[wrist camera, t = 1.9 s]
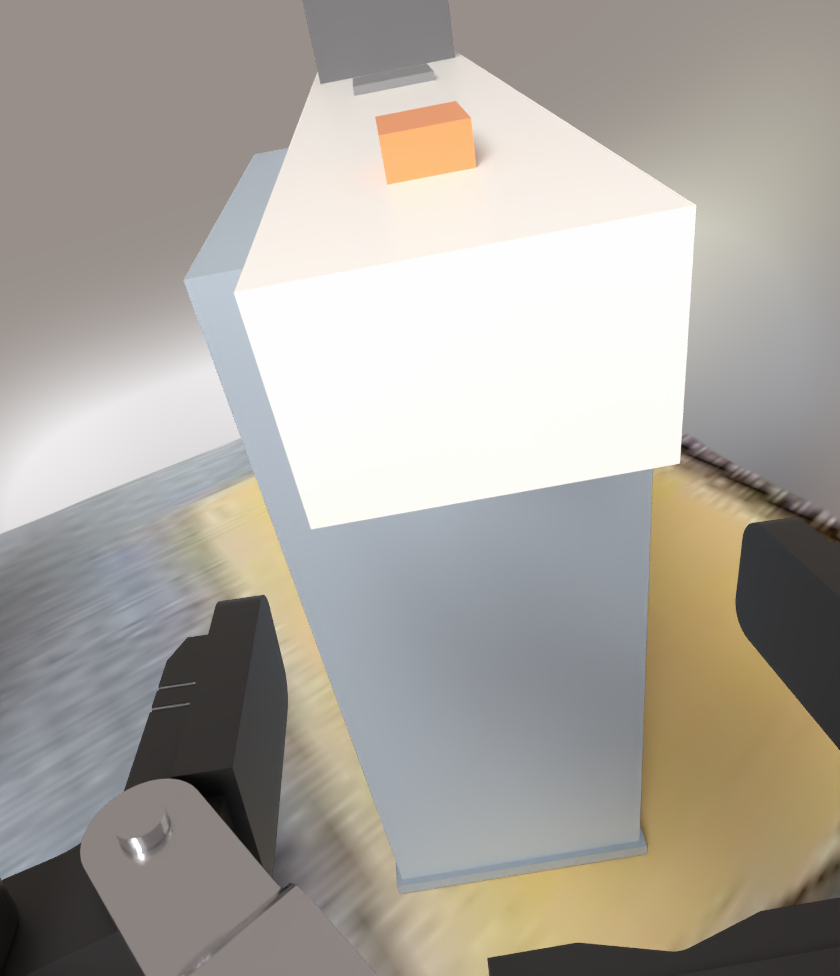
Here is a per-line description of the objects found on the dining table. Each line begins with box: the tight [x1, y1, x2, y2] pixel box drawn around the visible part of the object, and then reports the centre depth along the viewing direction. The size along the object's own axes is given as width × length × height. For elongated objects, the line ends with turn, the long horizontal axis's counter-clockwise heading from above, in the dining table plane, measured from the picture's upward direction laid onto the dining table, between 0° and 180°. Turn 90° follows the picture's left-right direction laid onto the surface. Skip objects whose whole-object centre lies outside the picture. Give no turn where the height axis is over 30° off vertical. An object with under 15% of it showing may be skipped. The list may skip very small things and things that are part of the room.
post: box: [184, 148, 653, 894], centre depth 33 cm, size 17×13×32 cm
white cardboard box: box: [234, 0, 696, 529], centre depth 17 cm, size 26×4×6 cm, turn 5°
